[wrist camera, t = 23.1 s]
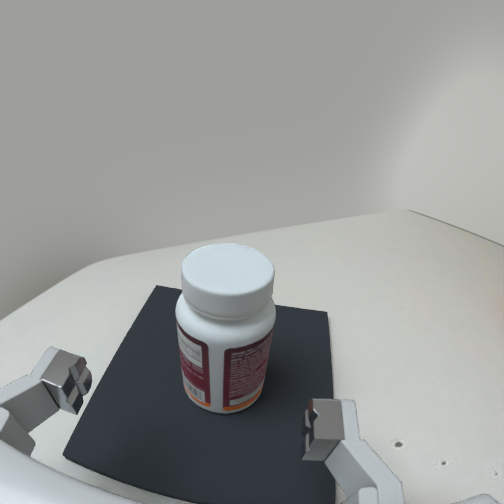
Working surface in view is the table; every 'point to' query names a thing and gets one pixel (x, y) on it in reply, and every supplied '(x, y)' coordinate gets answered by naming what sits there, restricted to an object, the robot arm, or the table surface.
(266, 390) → the mat
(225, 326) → the pill bottle
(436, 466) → the table surface
